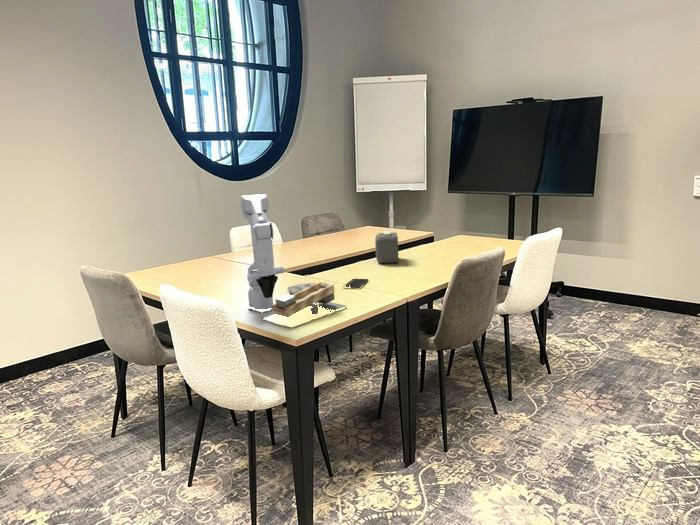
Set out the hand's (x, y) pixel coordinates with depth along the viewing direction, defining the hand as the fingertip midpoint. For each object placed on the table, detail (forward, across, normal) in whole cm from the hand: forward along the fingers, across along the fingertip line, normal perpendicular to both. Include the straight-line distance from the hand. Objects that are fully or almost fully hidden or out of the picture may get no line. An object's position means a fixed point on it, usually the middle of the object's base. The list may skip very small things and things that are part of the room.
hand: (268, 297), depth 180 cm
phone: (+11, +60, +13) cm, 62 cm away
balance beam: (+9, +17, 0) cm, 19 cm away
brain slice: (+11, +36, +20) cm, 43 cm away
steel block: (+6, +8, 0) cm, 10 cm away
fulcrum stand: (+10, +16, 0) cm, 20 cm away
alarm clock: (+11, +106, +32) cm, 111 cm away
